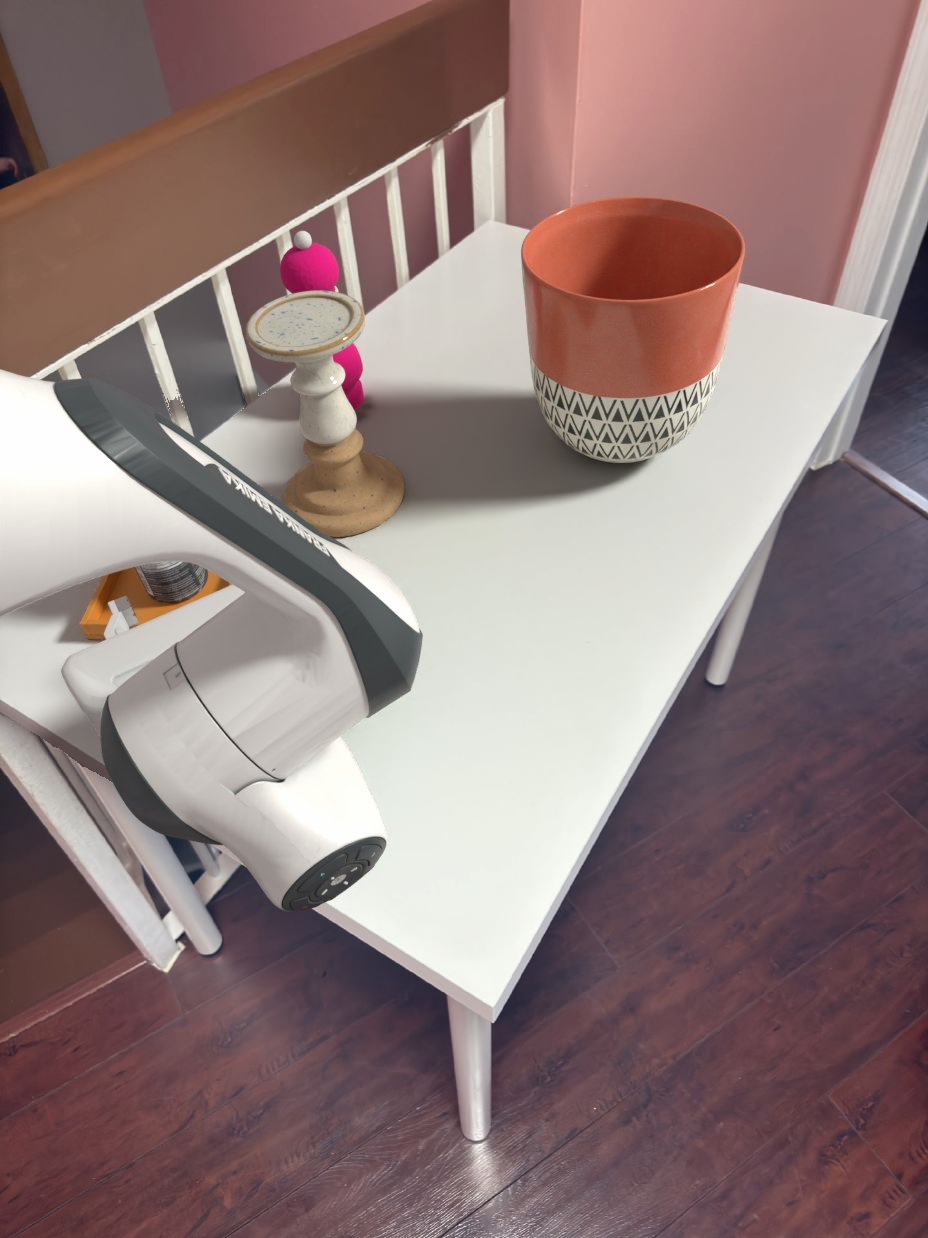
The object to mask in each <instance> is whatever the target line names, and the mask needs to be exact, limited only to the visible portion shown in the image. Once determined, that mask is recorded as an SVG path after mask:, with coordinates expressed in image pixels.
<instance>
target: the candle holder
mask: <svg viewBox="0 0 928 1238" xmlns="http://www.w3.org/2000/svg"><path fill="white" fill-rule="evenodd" d="M365 326H366V315H365V311H364V308H363V306H362V304H361V303H360V302H359V301H358V300H356V299H355V298H354V297H352V296H350V295H348V294H346V293H342V292H339V291H338V292H333V291H323V290H316V291H304V292H298V293H293V294H292V293H290V294H286V295H283V296H281V297H278V298H275V299H273V300H271V301H269V302H268V303H266V304H263V306H260V308H258V309H257V310H256V311H255V312H254V313H253V314H252V315H251V316H250V317H249V319H248V320H247V323H246V326H245V337H246V340H247V343H248V345H249V346H250V348H251V349H252V350H253V351H254V352H255V353H256V354H258V355H259V356H261V357H263V358H265V359H268V360H271V361H274V362H281V363H294V365H295V370H293V372H292V374H291V376H290V386H291V388H292V389H293V390H294V391H295V392H297V393H298V394H299V397H300V399H299V400H300V406H299V407H300V410H299V418H298V426H299V430H300V432H301V434H302V435H303V437H304V438H305V440H304V442H303V446H302V447H303V454H304V455H305V457H306V458H307V459H308V460H309V461H310V462H308V463H306V464H305V465H304V466H302V467H301V468H299V470H297V472H295V474H294V475H293V476H292V477H291V478H290V480H289V482H288V483H287V485H286V488H285V491H284V505H285V506H287V507H288V508H289V509H291V510H292V511H293V512H295V513H296V514H297V515H299V516H300V517H301V518H303V519H304V520H305V521H307V522H308V523H309V524H311V525H312V526H313V527H315V528H316V529H318V530H319V531H321V532H323V533H324V534H326V535H328V536H330V537H332V538H340V537H342V538H343V537H349V536H354V535H358V534H362V533H366V532H367V531H370V530H372V529H375V528H377V527H379V526H380V525H382V524H383V523H386V521H387V520H389V519H390V518H391V517H392V516H393V515H394V514H395V513H396V512H397V510H398V509H399V508H400V506H401V503H402V501H403V499H404V495H405V481H404V478H403V475H402V473H401V471H400V470H399V468H398V467H397V466H396V465H395V464H394V463H393V462H392V461H390V459H388V458H386V457H384V456H383V455H382V456H381V455H379V454H376V453H373V452H368V451H362V449H363V446H364V438H363V435H362V433H361V432H360V431H359V430H358V428H356V426H357V423H358V418H357V417H358V416H357V414H356V413H357V412H356V410H355V411H354V409H353V407H352V406H351V404H350V403H349V401H348V399H347V398H346V396H345V394H344V391H343V389H342V386H341V384H342V383H343V382H344V379H345V371H344V369H343V367H342V366H341V365H339V364H338V363H336V362H334V360H333V354H335V353H337V352H340V351H342V350H343V349H345V348H347V347H348V346H350V345H351V344H352V343H355V342H356V341H357V340H358V339H359V337H360V336H361V335H362V333H363V331H364V328H365Z"/></svg>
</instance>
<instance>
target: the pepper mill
mask: <svg viewBox="0 0 928 1238" xmlns="http://www.w3.org/2000/svg"><path fill="white" fill-rule="evenodd" d="M293 243H294V245H293V246H292V247H290V248H289V249H288V250H287V251H286V252H285V253H284V254H283V256H282V258H281V260H280V265H279V274H280V279H281V282H282V284H283V286H284V288H285V290H287V291H288V292H289V293H290V294H293V293H298V292H304V291H316V290H323V291H333V292H339V288H338V287H337V283H338V281H339V277H340V267H339V264H338V260H337V258H336V256H335V255H334V253H333V252H332V251H331V250H330V249H329V248H328V247H326V246H325V245H323V244H320V243H318V242H313V240H312V236H311V234H310V233H309V232H307V231H305V230H299V231H296V233H295V234H294V237H293ZM333 360H334V362H336V363H338V364H339V365H341V366H342V367H343V369H344V371H345V379H344V382H343V383H342V384H341V386H342V389H343V391H344V394H345V396H346V398H347V399H348V401H349V403H350V404H351V406H352V407H353V409H354V411H355V412H356V410H358V409H359V408H360V407H361V405H362V404H363V402H364V401H365V393H364V389H363V383H362V381H361V380H360V379H361V377H362V375H363V371H364V365H363V364H364V363H363V361H362V357H361V354H360V351H359V350H358V348H357V346H356V345H355V342H353V343H352V344H351V345H350V346H348V347H347V348H345V349H343V350H342V351H340V352H337V353H335V354H333Z"/></svg>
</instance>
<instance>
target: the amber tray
mask: <svg viewBox="0 0 928 1238" xmlns="http://www.w3.org/2000/svg"><path fill="white" fill-rule="evenodd" d="M230 585H232V584H231V583H229V582H227V581H226V580H224V579H222V578H221V577H219V576H217V575H216V574H214V573H212V572H210V571H209V570H208V580H207V583H206V584H205V586H204V587H203V589H202V590H201V591H200V592H199V593H198V594H196V595H195V596H193V597H192V598H190V599H188V600H185V601H183V602H179V603H172V604H167V603H160V602H157V601H155V600H153V599H152V598H151V597H150V596H149V595H148V593H147V591H146V589H145V587H144V585H143V583H142V581H141V579H140V577H139V575H138V573H137V572H136V570H135V568H134V567H131V568H128V569H124V570H121V571H117V572H114V573H110V574H107V575H104V576H101V579H100V580H99V583H98V584H97V586H96V589H95V591H94V593H93V594H92V597H91V599H90V601H89V603H88V605H87V607H86V609H85V612H84V613H83V615H82V617H81V618H80V621H79V624H78V625H79V627H80V628H81V630H82V631H83V634H84V635H85V637H86V638H87V640H106V639H105V636H104V632H105V629H106V627H107V624H108V622H109V620H110V617H111V615H112V612H111V610H110V608H109V606H108V602H110V601H113V600H115V599H117V598H120V597H122V596H125V595H126V596H127V598H128V600H129V602H130V604H131V606H132V608H133V610H134V612H135V614H136V616H137V618H138V621H139V623H137V624H135V625H133V626H130V627H129V629H132V628H134V627H136V626H138V625H141V624H143V623H145V622H148V621H150V620H152V619H155V618H157V617H159V616H161V615H164V614H166V613H168V612H171V611H173V610H175V609H177V608H180V607H182V606H184V605H187V604H189V603H191V602H193V601H196V600H198V599H200V598H203V597H205V596H207V595H210V594H212V593H214V592H216V591H219V590H221V589H223V588H226V587H228V586H230Z"/></svg>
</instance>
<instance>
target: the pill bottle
mask: <svg viewBox="0 0 928 1238" xmlns="http://www.w3.org/2000/svg"><path fill="white" fill-rule="evenodd" d="M134 568H135V570H136V572H137V573H138V575H139V577H140V579H141V581H142V583H143V585H144V587H145V589H146V591H147V593H148V595H149V596H150V597H151V598H152V599H153V600H155V601H157V602H160V603H167V604H172V603H179V602H183V601H185V600H188V599H190V598H192V597H193V596H195V595H196V594H198V593H199V592H200V591H201V590H202V589H203V587H204V586H205V584H206V583H207V580H208V570H207V569H205V568H204V567H202V566H199V565H197V564H193V563H189V562H179V561H166V562H157V563H150V564H145V565H140V566H135V567H134Z"/></svg>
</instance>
